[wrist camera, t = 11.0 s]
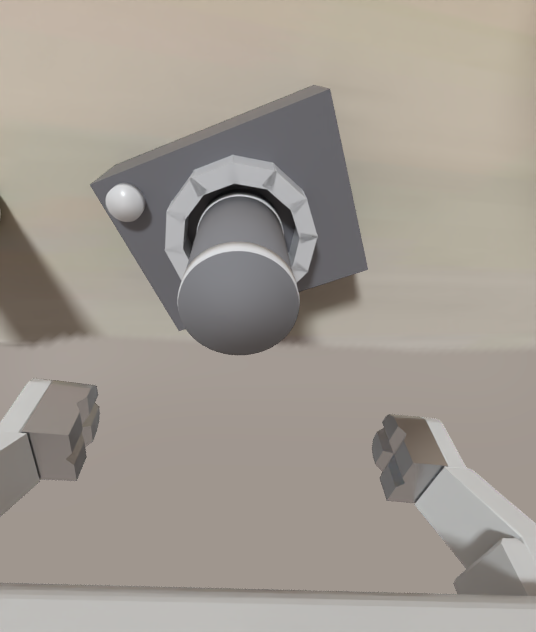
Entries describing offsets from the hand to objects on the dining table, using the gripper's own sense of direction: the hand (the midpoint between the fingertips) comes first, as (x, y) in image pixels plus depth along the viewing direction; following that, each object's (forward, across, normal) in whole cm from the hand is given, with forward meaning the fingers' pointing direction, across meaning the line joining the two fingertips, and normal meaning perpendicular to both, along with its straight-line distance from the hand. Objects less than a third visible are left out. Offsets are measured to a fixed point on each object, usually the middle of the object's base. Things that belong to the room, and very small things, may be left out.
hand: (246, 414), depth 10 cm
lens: (+15, 0, 0) cm, 15 cm away
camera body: (+20, 0, +1) cm, 20 cm away
